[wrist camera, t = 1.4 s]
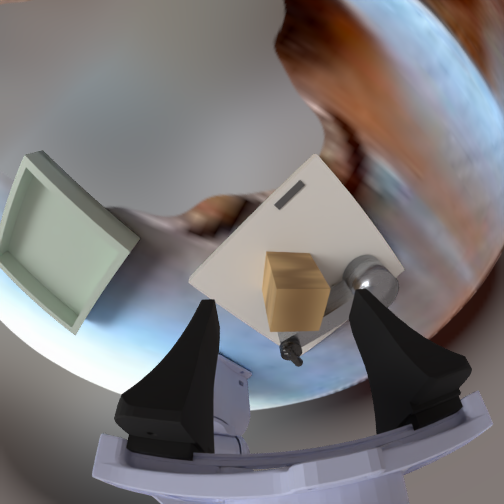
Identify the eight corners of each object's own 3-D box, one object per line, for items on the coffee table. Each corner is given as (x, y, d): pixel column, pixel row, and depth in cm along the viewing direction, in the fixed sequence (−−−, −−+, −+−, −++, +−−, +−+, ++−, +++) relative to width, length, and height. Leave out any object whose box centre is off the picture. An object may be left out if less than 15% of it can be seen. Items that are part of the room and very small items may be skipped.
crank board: (400, 265, 27) (405, 270, 26) (296, 351, 31) (298, 358, 30) (313, 153, 21) (317, 155, 20) (189, 276, 26) (188, 283, 25)
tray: (140, 238, 23) (130, 252, 21) (84, 319, 27) (75, 335, 24) (42, 150, 19) (24, 154, 16) (6, 247, 22) (-8, 258, 19)
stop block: (309, 253, 24) (330, 289, 19) (302, 290, 26) (319, 330, 21) (266, 251, 24) (276, 288, 18) (261, 289, 26) (270, 332, 20)
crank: (372, 246, 24) (398, 272, 20) (385, 276, 26) (409, 304, 21) (264, 316, 27) (270, 352, 22) (286, 339, 28) (295, 374, 24)
